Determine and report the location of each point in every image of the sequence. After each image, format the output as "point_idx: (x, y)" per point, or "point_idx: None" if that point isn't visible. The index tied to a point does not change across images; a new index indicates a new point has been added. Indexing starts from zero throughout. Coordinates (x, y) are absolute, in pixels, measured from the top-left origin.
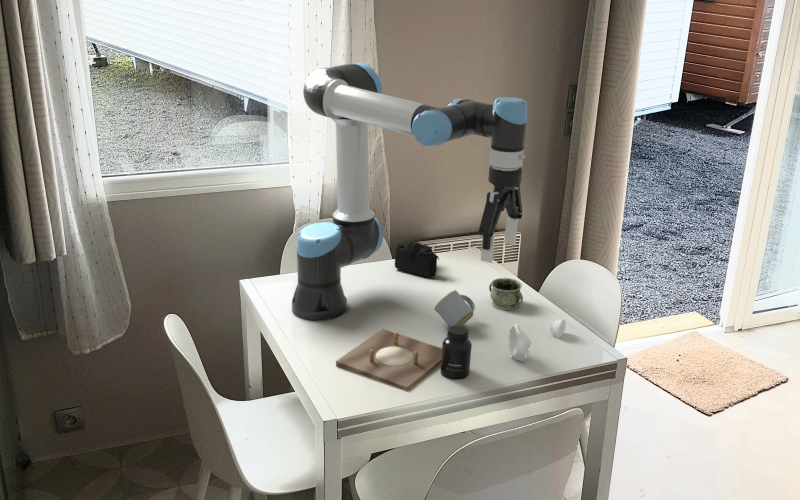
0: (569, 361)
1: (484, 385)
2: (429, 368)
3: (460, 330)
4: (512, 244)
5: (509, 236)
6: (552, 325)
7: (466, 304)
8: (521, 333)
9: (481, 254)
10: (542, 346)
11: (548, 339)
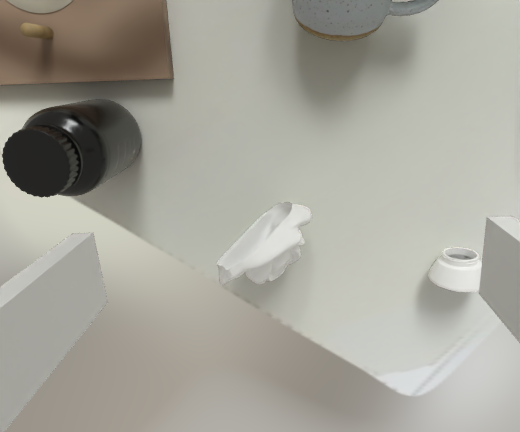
0: (339, 323)
1: (119, 215)
2: (56, 80)
3: (37, 172)
4: (481, 280)
5: (511, 281)
6: (449, 262)
7: (363, 5)
8: (255, 269)
9: (48, 254)
10: (374, 248)
11: (420, 246)
